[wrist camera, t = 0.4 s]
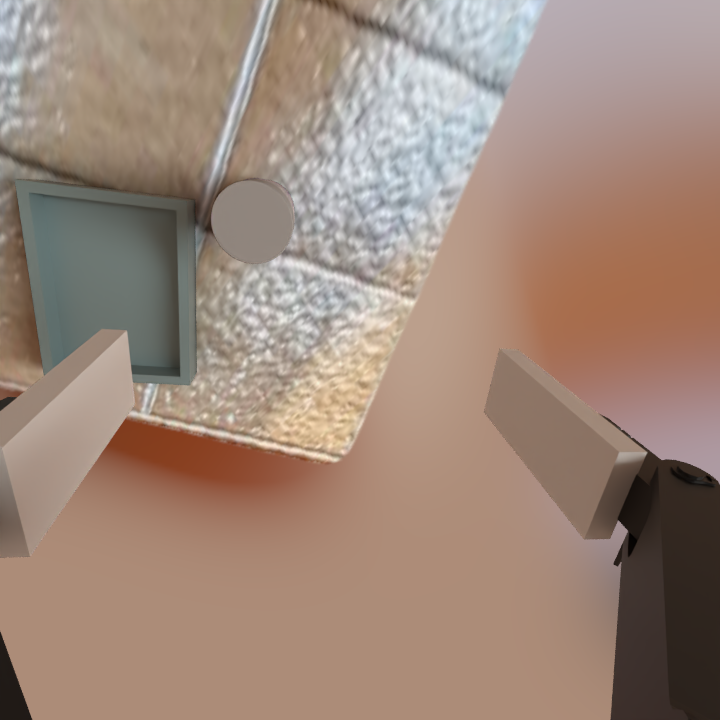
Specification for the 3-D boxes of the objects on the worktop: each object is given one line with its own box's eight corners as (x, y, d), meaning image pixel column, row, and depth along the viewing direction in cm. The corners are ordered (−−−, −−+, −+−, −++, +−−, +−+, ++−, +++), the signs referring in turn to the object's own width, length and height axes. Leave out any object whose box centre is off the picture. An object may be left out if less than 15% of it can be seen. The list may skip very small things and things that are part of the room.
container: (249, 242, 38) (225, 275, 25) (231, 187, 37) (194, 189, 23) (300, 229, 39) (305, 254, 25) (285, 173, 37) (280, 168, 23)
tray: (36, 179, 34) (14, 179, 32) (195, 199, 36) (187, 200, 34) (61, 364, 40) (44, 377, 37) (196, 372, 42) (189, 385, 39)
